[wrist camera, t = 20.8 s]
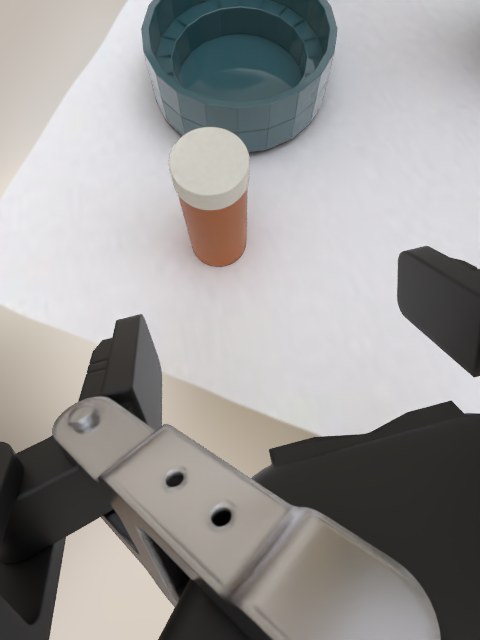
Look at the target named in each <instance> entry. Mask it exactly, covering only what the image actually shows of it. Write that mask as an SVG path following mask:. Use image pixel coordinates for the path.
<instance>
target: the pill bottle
mask: <svg viewBox="0 0 480 640" xmlns="http://www.w3.org/2000/svg"><path fill="white" fill-rule="evenodd" d="M249 167H250V159H249V153H248V150H247V148H246V146H245V144H244V143H243V142H242V140H241V139H240V138H239V137H238V136H236V135H235V134H234V133H232V132H230V131H228V130H225V129H222V128H217V127H203V128H198V129H195V130H192V131H190V132H188V133H186V134H185V135H183V136H182V137H181V138H180V139H179V140H178V141H177V142H176V143H175V145H174V146H173V148H172V150H171V153H170V156H169V170H170V173H171V177H172V180H173V184H174V187H175V190H176V192H177V194H178V196H179V200H180V204H181V207H182V211H183V215H184V218H185V222H186V226H187V230H188V233H189V237H190V241H191V244H192V248H193V251H194V253H195V255H196V256H197V257H198V258H199V259H200V260H201V261H202V262H204V263H206V264H208V265H211V266H226V265H229V264H231V263H233V262H235V261H236V260H238V259H239V258H240V257H241V255H242V254H243V252H244V250H245V247H246V228H247V186H248V183H249Z"/></svg>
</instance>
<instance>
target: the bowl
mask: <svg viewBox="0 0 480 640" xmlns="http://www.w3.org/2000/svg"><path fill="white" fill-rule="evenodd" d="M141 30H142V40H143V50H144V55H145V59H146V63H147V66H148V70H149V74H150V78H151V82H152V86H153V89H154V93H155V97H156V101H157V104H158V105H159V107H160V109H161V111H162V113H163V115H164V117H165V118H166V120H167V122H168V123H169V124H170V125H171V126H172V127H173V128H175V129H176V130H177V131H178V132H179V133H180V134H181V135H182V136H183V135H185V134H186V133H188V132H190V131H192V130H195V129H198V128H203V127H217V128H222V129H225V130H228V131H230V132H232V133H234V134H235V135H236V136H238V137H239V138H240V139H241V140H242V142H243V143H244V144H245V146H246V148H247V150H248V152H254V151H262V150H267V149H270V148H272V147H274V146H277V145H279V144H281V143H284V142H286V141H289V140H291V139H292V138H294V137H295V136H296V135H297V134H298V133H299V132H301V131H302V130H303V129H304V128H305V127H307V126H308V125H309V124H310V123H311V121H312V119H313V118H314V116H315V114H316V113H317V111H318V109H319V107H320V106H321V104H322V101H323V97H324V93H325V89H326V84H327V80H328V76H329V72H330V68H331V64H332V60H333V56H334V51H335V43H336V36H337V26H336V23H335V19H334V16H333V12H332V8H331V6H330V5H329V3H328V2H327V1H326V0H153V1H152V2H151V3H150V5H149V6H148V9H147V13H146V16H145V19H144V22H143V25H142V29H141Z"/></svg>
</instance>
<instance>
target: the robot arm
mask: <svg viewBox="0 0 480 640" xmlns="http://www.w3.org/2000/svg"><path fill="white" fill-rule="evenodd" d="M397 300H398V305H399V308H400V311H401V312H402V314H403V315H404V316H405V317H406V318H407V319H408V320H409V321H410V322H411V323H412V324H414V325H415V326H416V327H417V328H418V329H419V330H420V331H422V332H423V333H424V334H425V335H426V336H427V337H428V338H430V339H431V340H432V341H433V342H434V343H435V344H436V345H438V346H439V347H440V348H441V349H442V350H443V351H444V352H446V353H447V354H448V355H449V356H450V357H451V358H452V359H454V360H455V361H456V362H457V363H458V364H459V365H461V366H462V367H463V368H464V369H465V370H466V371H467V372H469V373H470V374H471V375H472V376H473V377H477V376H480V269H477V267H475V266H473V265H471V264H469V263H467V262H465V261H462V260H458V259H454V258H450V257H448V256H446V255H444V254H442V253H440V252H438V251H436V250H434V249H433V248H431V247H429V246H424V247H420V248H415V249H411V250H407V251H403V252H401V253H400V255H399V258H398V288H397ZM52 434H53V435H52V436H51V437H49V438H48V439H45V440H44V441H42V442H40V443H37V444H35V445H33V446H31V447H29V448H27V449H25V450H23V451H21V452H18V453H17V454H16V453H15V452H14V450H13V449H12V448H11V446H10V445H9V444H7V443H5V442H0V640H49V636H50V630H51V624H52V617H53V612H54V606H55V600H56V594H57V588H58V581H59V575H60V569H61V564H62V557H63V551H64V545H65V539H66V536H68V535H70V534H71V533H73V532H75V531H77V530H78V529H80V528H82V527H84V526H85V525H87V524H89V523H91V522H92V521H94V520H96V519H97V518H99V517H101V518H102V519H103V520H104V521H105V523H106V524H107V525H108V526H109V527H110V528H111V529H112V531H113V532H114V533H115V534H116V535H117V536H118V537H119V539H120V540H121V541H122V542H123V543H124V544H125V545H126V546H127V548H128V549H129V550H130V551H131V552H132V553H133V554H134V556H135V557H136V558H137V559H138V560H139V561H140V562H141V563H142V565H143V566H144V567H145V568H146V570H147V571H148V572H149V574H150V575H151V576H152V578H153V579H154V581H155V582H156V584H157V585H158V587H159V588H160V589H161V591H162V592H163V593H164V595H165V596H166V597H167V598H168V600H169V601H170V602H171V603H172V604H173V605H174V607H175V609H174V611H173V613H172V614H171V616H170V618H169V620H168V622H167V624H166V626H165V628H164V630H163V632H162V633H161V635H160V637H159V639H158V640H480V414H473V413H465V414H464V413H463V412H462V411H461V410H460V409H459V408H458V407H457V406H456V405H455V404H454V403H453V402H452V401H448V402H444V403H441V404H437V405H433V406H429V407H426V408H422V409H418V410H414V411H411V412H407V413H405V414H404V415H402V416H400V417H398V418H396V419H394V420H392V421H391V422H389V423H387V424H385V425H383V426H381V427H379V428H378V429H376V430H374V431H372V432H370V433H367V434H360V435H343V436H326V437H313V438H310V439H306V440H302V441H299V442H295V443H291V444H287V445H283V446H280V447H276V448H272V449H269V452H270V457H271V462H272V465H270V466H268V467H266V468H264V469H263V470H262V471H260V472H259V473H257V474H256V475H254V476H253V477H252V478H249V477H248V476H246V475H245V474H243V473H242V472H240V471H239V470H237V469H236V468H234V467H233V466H231V465H230V464H228V463H227V462H225V461H224V460H222V459H221V458H219V457H218V456H216V455H215V454H213V453H212V452H210V451H209V450H207V449H206V448H204V447H203V446H201V445H200V444H198V443H196V442H195V441H194V440H192V439H191V438H189V437H188V436H186V435H185V434H183V433H182V432H180V431H179V430H177V429H176V428H174V427H173V426H171V425H168V424H164V425H163V426H162V372H161V366H160V362H159V358H158V355H157V352H156V350H155V347H154V344H153V341H152V338H151V335H150V333H149V330H148V327H147V324H146V321H145V319H144V317H143V315H142V314H140V315H136V316H132V317H128V318H124V319H120V320H117V321H116V324H115V329H114V333H113V338H110V339H106V340H102V342H101V343H100V344H99V345H98V346H97V347H96V349H95V350H94V351H93V353H92V357H91V360H90V365H89V367H88V370H87V374H86V377H85V380H84V384H83V387H82V391H81V394H80V398H79V401H78V403H75V404H74V405H72V406H70V407H69V408H68V409H66V410H65V411H64V412H63V413H62V414H61V415H60V416H59V417H58V418H57V420H56V421H55V423H54V425H53V428H52Z"/></svg>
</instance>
